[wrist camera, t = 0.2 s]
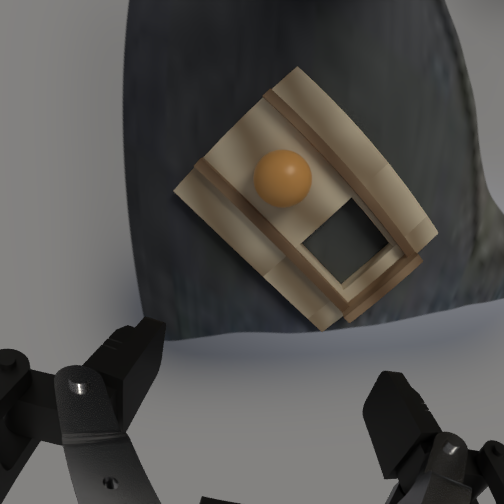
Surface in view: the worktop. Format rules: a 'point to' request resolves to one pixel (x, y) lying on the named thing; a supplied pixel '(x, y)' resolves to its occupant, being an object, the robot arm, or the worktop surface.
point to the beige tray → (308, 201)
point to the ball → (282, 178)
